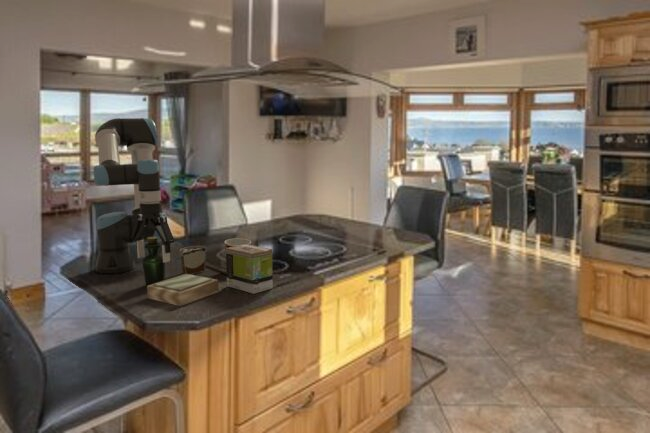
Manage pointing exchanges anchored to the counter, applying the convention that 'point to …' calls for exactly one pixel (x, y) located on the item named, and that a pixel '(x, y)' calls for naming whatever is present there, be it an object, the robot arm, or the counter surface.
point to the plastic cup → (236, 242)
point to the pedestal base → (182, 289)
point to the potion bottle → (153, 263)
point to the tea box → (249, 268)
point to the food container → (193, 259)
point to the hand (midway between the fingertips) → (153, 259)
